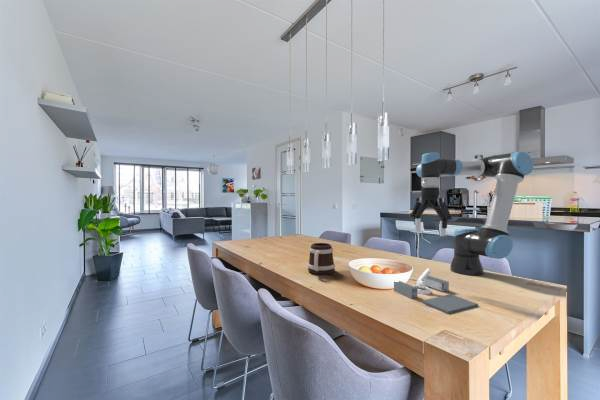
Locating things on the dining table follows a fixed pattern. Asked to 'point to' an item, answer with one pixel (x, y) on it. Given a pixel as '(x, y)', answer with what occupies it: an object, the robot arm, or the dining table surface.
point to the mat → (449, 303)
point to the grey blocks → (412, 291)
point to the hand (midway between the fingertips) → (429, 234)
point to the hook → (421, 284)
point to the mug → (321, 259)
